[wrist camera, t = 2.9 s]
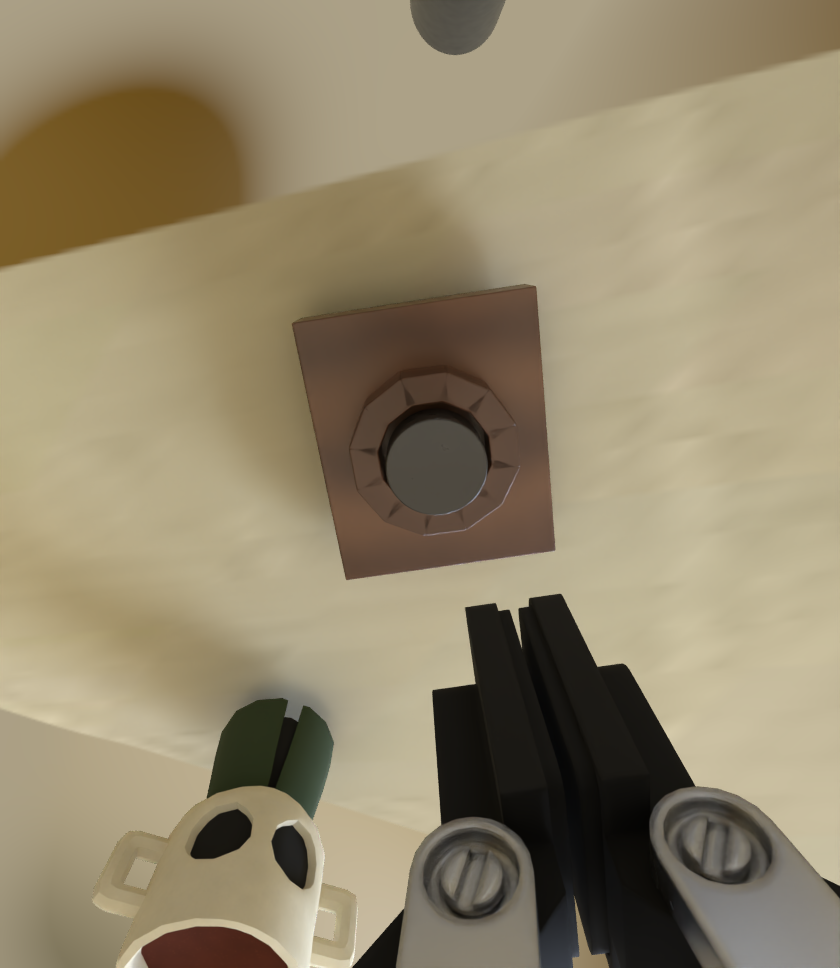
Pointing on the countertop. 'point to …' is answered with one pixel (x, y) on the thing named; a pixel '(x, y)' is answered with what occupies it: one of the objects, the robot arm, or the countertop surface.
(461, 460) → the button
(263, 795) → the character mug
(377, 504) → the button box
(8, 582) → the countertop surface
